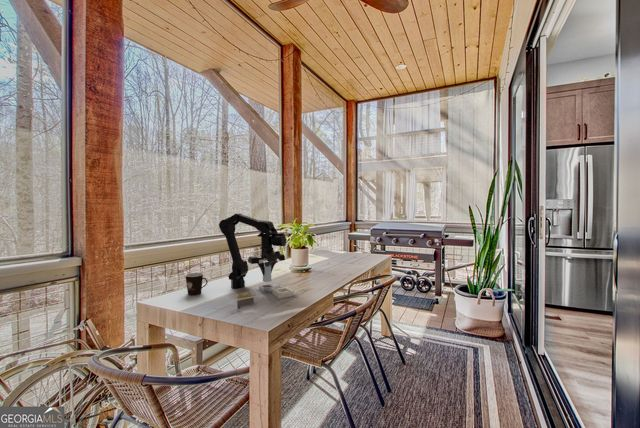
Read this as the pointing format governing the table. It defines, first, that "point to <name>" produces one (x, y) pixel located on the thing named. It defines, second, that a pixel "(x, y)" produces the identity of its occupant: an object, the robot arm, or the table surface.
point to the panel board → (272, 296)
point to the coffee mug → (194, 283)
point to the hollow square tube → (266, 288)
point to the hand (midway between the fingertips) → (266, 274)
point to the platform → (244, 299)
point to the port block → (283, 292)
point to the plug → (267, 272)
